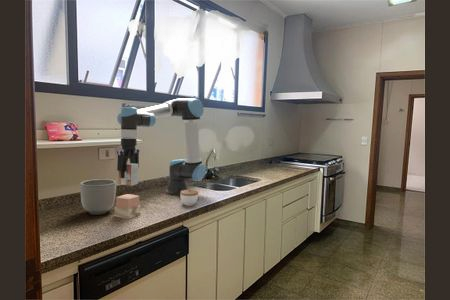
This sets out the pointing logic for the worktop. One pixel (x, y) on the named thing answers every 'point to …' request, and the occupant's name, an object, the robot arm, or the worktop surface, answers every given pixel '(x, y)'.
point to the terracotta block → (127, 201)
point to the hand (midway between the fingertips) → (128, 183)
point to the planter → (98, 195)
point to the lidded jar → (189, 197)
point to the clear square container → (127, 212)
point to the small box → (130, 174)
